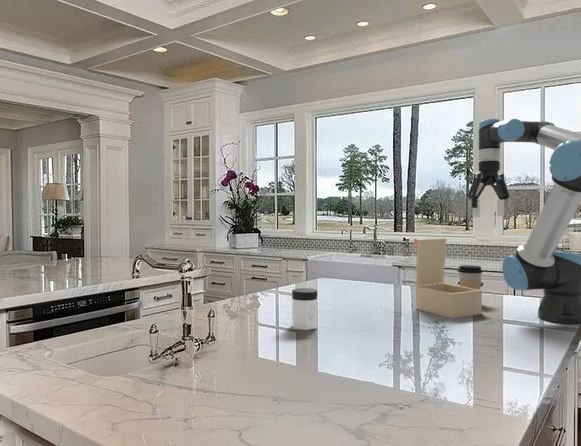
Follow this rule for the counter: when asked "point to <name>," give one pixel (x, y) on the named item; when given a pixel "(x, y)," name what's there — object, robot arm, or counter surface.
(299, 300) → the jar
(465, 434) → the counter surface
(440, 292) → the carton
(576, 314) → the robot arm
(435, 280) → the lid flap
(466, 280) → the coffee cup
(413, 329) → the counter surface
